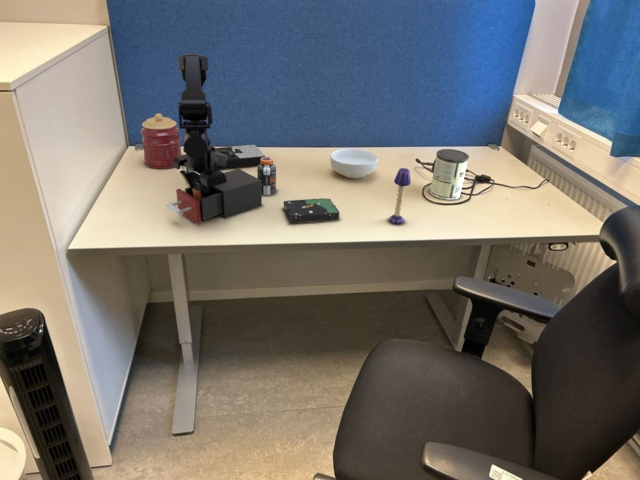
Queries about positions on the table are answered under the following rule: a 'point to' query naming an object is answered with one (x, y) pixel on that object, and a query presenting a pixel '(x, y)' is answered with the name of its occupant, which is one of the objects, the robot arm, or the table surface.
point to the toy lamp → (400, 194)
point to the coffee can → (448, 174)
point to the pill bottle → (267, 175)
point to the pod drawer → (191, 206)
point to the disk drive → (310, 210)
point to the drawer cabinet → (240, 192)
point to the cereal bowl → (353, 162)
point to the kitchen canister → (160, 141)
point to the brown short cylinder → (197, 194)
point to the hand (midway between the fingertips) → (201, 197)
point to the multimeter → (240, 156)
